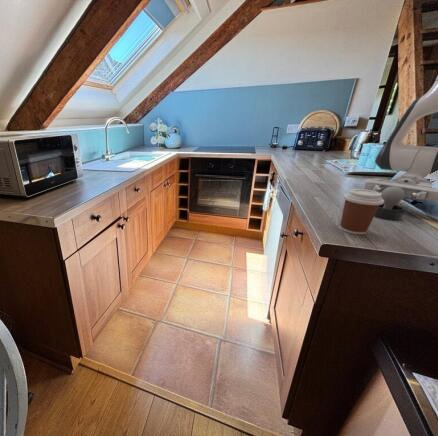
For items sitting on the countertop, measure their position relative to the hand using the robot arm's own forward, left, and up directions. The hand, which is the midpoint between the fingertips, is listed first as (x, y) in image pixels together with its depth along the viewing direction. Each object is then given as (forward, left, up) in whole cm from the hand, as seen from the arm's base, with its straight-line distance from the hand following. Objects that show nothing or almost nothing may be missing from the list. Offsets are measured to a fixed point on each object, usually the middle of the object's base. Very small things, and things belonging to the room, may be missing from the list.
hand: (395, 193), depth 82 cm
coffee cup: (+15, +18, -8) cm, 25 cm away
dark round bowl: (+1, +1, -8) cm, 8 cm away
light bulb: (+1, +1, -8) cm, 8 cm away
